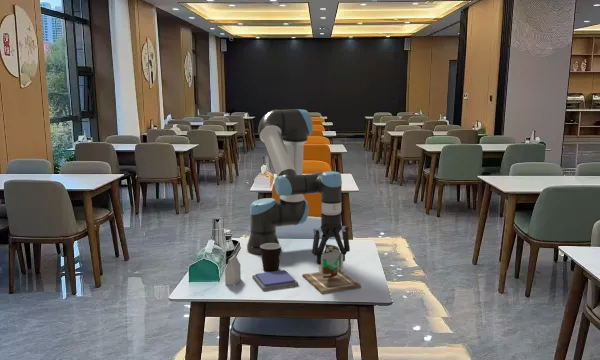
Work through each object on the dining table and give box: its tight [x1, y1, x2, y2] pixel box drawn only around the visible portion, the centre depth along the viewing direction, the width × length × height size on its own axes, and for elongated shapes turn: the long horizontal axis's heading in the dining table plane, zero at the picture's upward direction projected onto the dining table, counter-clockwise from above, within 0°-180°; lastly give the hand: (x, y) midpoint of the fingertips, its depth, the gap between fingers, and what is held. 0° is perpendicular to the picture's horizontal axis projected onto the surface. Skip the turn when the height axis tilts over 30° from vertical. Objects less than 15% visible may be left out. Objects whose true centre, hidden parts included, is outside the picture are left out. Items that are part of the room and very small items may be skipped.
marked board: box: [302, 269, 362, 295], centre depth 202 cm, size 19×16×1 cm
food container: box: [322, 243, 341, 278], centre depth 201 cm, size 12×6×10 cm, turn 172°
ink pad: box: [252, 269, 299, 292], centre depth 203 cm, size 14×14×2 cm
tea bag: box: [224, 254, 242, 286], centre depth 202 cm, size 4×7×10 cm, turn 166°
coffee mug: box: [260, 243, 282, 273], centre depth 217 cm, size 12×9×10 cm
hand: (330, 270), depth 202 cm, fingers closed on food container, 7 cm apart
